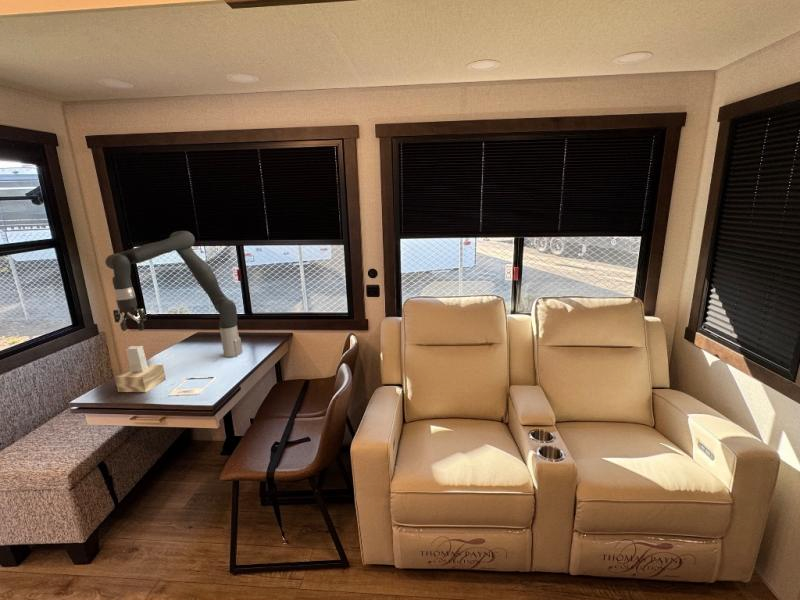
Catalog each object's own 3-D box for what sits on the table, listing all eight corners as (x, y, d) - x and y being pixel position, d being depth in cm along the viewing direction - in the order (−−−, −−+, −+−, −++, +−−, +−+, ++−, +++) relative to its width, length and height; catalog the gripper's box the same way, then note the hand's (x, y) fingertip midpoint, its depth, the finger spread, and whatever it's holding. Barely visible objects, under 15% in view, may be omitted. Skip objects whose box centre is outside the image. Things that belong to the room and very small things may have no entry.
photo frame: (167, 394, 179) (186, 377, 196) (168, 397, 179) (186, 379, 197) (199, 393, 180) (215, 376, 197) (200, 395, 180) (216, 378, 197)
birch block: (165, 379, 197) (162, 364, 195) (145, 392, 183) (142, 377, 181) (140, 379, 198) (136, 364, 196) (118, 392, 185) (114, 377, 183)
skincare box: (148, 368, 191) (143, 345, 188) (142, 372, 186) (137, 348, 183) (136, 368, 191) (131, 345, 188) (130, 372, 187) (124, 349, 184)
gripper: (145, 294, 184) (152, 327, 188) (117, 295, 185) (125, 327, 189) (134, 299, 177) (141, 332, 181) (104, 299, 178) (113, 333, 182)
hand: (133, 330), depth 185 cm, fingers open, 8 cm apart
